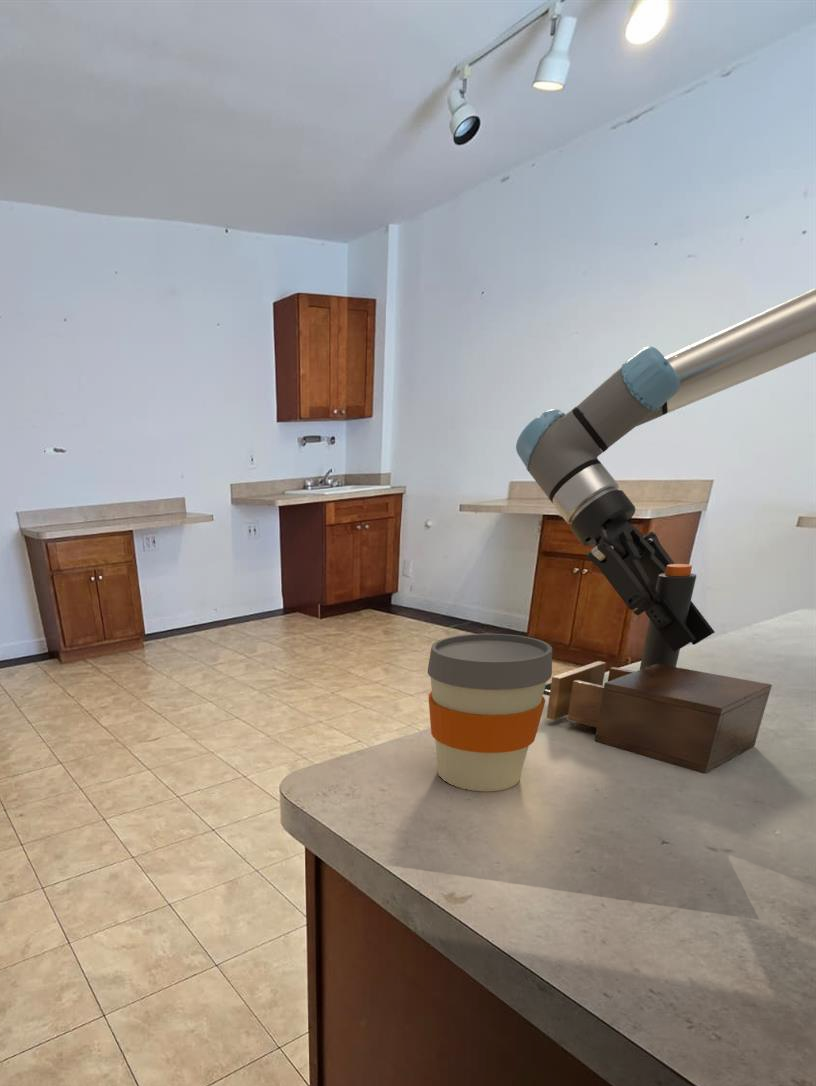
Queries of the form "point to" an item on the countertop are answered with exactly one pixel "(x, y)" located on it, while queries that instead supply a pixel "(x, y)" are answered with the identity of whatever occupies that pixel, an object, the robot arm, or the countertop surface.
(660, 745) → the cabinet
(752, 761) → the countertop surface
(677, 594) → the spray can
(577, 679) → the drawer
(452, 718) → the reusable coffee cup
